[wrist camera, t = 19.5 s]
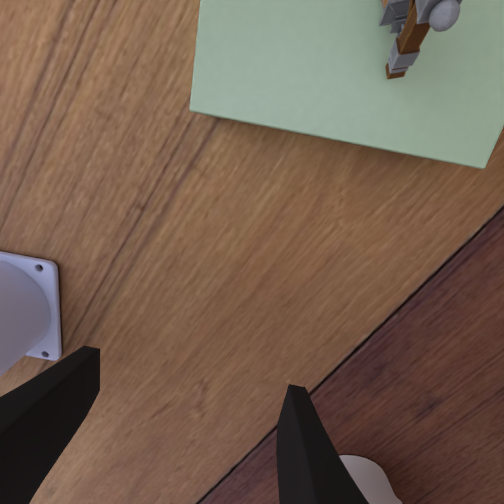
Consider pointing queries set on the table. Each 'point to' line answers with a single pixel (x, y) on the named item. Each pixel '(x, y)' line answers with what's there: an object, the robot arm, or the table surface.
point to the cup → (370, 480)
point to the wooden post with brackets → (414, 28)
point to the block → (353, 76)
